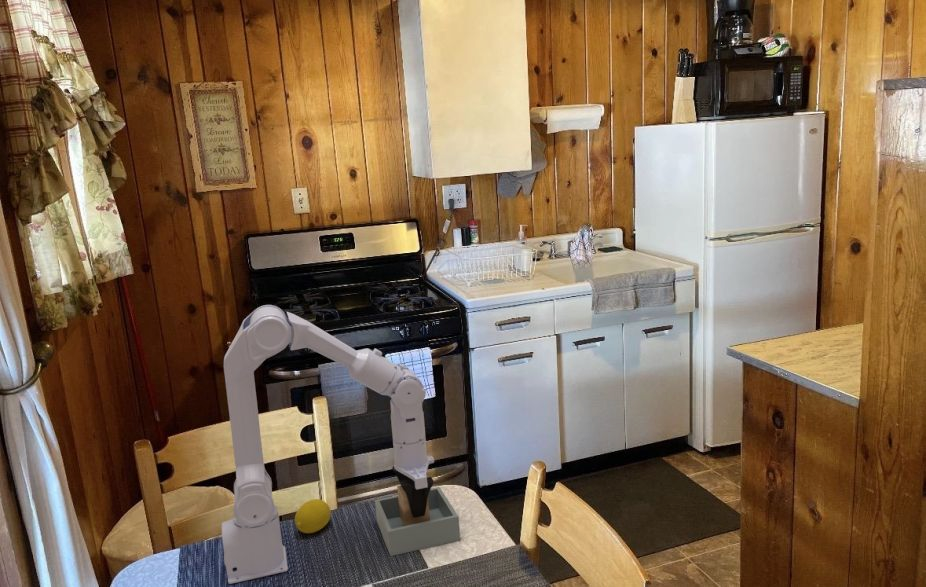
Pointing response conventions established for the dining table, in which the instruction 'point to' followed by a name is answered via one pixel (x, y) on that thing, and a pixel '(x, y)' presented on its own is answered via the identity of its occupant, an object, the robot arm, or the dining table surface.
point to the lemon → (312, 516)
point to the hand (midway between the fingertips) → (415, 509)
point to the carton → (406, 512)
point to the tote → (421, 534)
